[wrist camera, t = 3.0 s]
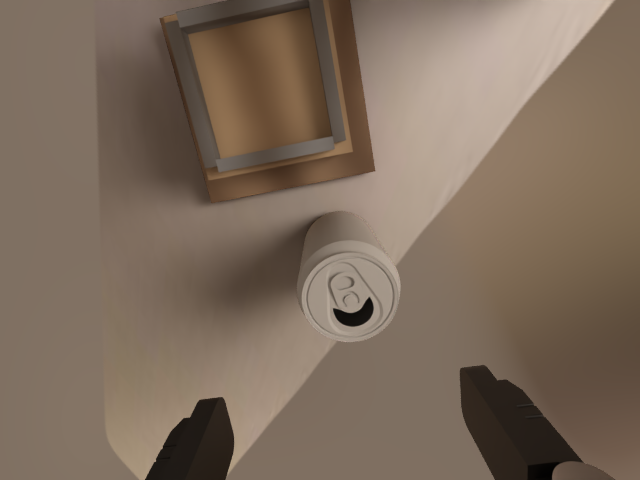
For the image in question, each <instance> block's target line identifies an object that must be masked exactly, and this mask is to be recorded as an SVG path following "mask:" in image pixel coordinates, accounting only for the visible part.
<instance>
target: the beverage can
mask: <svg viewBox="0 0 640 480" xmlns="http://www.w3.org/2000/svg"><path fill="white" fill-rule="evenodd" d="M399 296H400V279H399V275H398V272H397V269H396V267H395V265H394V264H393V262H392V261H391V259H390V257H389V256H388V254H387V253H386V251H385V250H384V248H383V247H382V245H381V243H380V242H379V240H378V239H377V237H376V236H375V234H374V232H373V231H372V229H371V228H370V226H369V225H368V224H367V223H366V222H365V221H364V220H363V219H362V218H360V217H359V216H357V215H355V214H353V213H349V212H343V211H337V212H331V213H328V214H325V215H323V216H322V217H320V218H318V219H317V220H316V221H315V222H314V223H313V224H312V225H311V227H310V228H309V230H308V232H307V234H306V237H305V242H304V248H303V253H302V259H301V264H300V270H299V275H298V280H297V298H298V302H299V305H300V308H301V310H302V312H303V313H304V315H305V316H306V318H307V320H308V321H309V323H310V324H311V325H312V326H313V328H315V329H316V330H317V331H318V332H319V333H321V334H322V335H324V336H326V337H328V338H330V339H333V340H337V341H342V342H357V341H362V340H365V339H368V338H371V337H373V336H375V335H376V334H378V333H379V332H381V331H382V330H383V329H384V328H385V327H386V326H387V325H388V324H389V323H390V322H391V320H392V318H393V317H394V315H395V313H396V310H397V307H398V302H399Z"/></svg>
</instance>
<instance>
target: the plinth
mask: <svg viewBox="0 0 640 480" xmlns="http://www.w3.org/2000/svg"><path fill="white" fill-rule="evenodd" d="M160 22H161V25H162V29H163V32H164V36H165V39H166V43H167V47H168V50H169V54H170V57H171V61H172V64H173V68H174V72H175V75H176V79H177V82H178V86H179V89H180V93H181V96H182V100H183V104H184V107H185V111H186V114H187V118H188V121H189V125H190V129H191V132H192V136H193V139H194V143H195V146H196V150H197V153H198V157H199V161H200V164H201V168H202V171H203V175H204V178H205V182H206V186H207V189H208V193H209V196H210V200H211V203H215V202H220V201H225V200H230V199H235V198H241V197H246V196H251V195H256V194H261V193H266V192H271V191H276V190H281V189H286V188H292V187H297V186H302V185H307V184H312V183H317V182H322V181H327V180H332V179H337V178H343V177H348V176H353V175H358V174H363V173H368V172H373V171H375V166H374V160H373V153H372V146H371V139H370V133H369V126H368V119H367V112H366V106H365V99H364V92H363V85H362V79H361V72H360V65H359V58H358V52H357V45H356V38H355V31H354V25H353V18H352V11H351V4H350V0H227V1H223V2H218V3H214V4H210V5H205V6H201V7H196V8H192V9H188V10H183V11H179V12H176V14H174V15H169V16H165V17H163V18H160Z"/></svg>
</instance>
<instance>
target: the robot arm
mask: <svg viewBox="0 0 640 480" xmlns="http://www.w3.org/2000/svg"><path fill="white" fill-rule="evenodd" d="M460 387H461V407H462V413H463V417H464V420H465V423H466V425H467V428H468V430H469V431H470V433H471V435H472V437H473V439H474V441H475V443H476V444H477V446H478V448H479V450H480V452H481V454H482V456H483V458H484V460H485V462H486V463H487V465H488V467H489V469H490V471H491V473H492V475H493V477H494V479H495V480H615V479H614V478H613V477H611V476H610V475H608V474H607V473H605V472H604V471H602V470H600V469H598V468H596V467H594V466H592V465H589V464H585V463H584V462H583V461H582V460H581V459H580V458H579V457H578V456H577V454H576V453H575V452H574V451H573V449H572V448H571V447H570V446H569V445H568V444H567V442H566V441H565V440H564V439H563V438H562V436H561V435H560V434H559V433H558V432H557V430H555V428H554V427H553V426H552V425H551V423H550V422H549V421H548V420H547V419H546V418H545V417H544V416H543V414H542V413H541V412H540V410H539V409H538V408H537V407H536V406H534V404H533V402H532V401H531V400H530V398H529V397H528V396H527V395H526V394H525V393H524V392H523V390H522V389H520V388H519V387H517V386H516V385H514V384H512V383H511V382H509V381H508V380H498V381H497V379H496V378H495V377H494V376H493V374H492V373H491V372H490V370H489V369H488V368H487V367H486V366H485V365H481V366H472V367H464V368H461V369H460ZM233 450H234V434H233V430H232V426H231V422H230V418H229V415H228V411H227V407H226V403H225V400H224V399H223V398H222V397H218V398H210V399H202V400H199V401H198V403H197V405H196V407H195V409H194V411H193V413H192V415H191V417H190V418H183V419H182V421H181V422H180V423H179V424H178V425H177V426H176V427H175V428H174V429H173V430H172V431H171V432H170V434H169V436H168V438H167V440H166V442H165V443H164V445H163V449H161V451H160V453H159V455H158V456H157V458H156V462H154V464H153V466H152V468H151V469H150V471H149V473H148V475H147V477H146V479H145V480H225V479H226V476H227V473H228V469H229V466H230V462H231V459H232V455H233Z"/></svg>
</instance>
